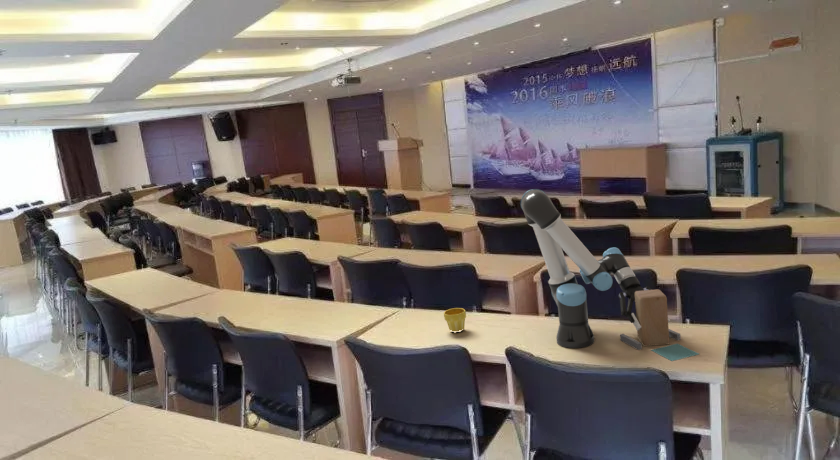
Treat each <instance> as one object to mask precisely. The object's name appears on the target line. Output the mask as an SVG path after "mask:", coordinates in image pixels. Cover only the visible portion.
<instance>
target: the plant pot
mask: <svg viewBox="0 0 840 460" xmlns="http://www.w3.org/2000/svg"><path fill="white" fill-rule="evenodd" d="M443 317H444V320H445V322H446V324H447V326H448V329H449V331H450V330H452V331H459V330H462V329H464V330H465V322H466V318H467V313H466V310H465V309H464V308H462V307H454V308H449V309H446V310H445V311H444V312H443Z"/></svg>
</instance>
